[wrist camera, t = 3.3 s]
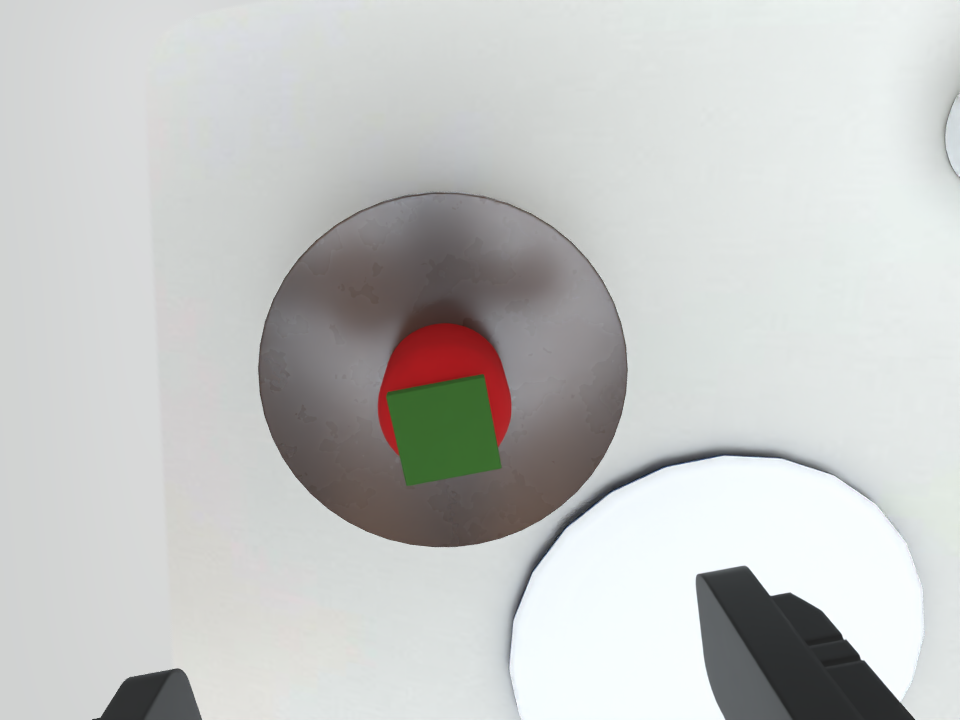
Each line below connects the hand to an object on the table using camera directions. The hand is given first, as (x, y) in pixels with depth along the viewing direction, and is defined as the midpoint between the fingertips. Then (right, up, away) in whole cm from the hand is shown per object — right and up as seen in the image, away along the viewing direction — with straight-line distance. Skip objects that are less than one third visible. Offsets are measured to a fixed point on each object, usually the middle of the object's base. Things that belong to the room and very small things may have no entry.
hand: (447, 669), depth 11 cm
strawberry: (-1, +4, +14) cm, 15 cm away
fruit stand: (-1, +7, +27) cm, 28 cm away
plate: (+15, -12, +33) cm, 38 cm away
